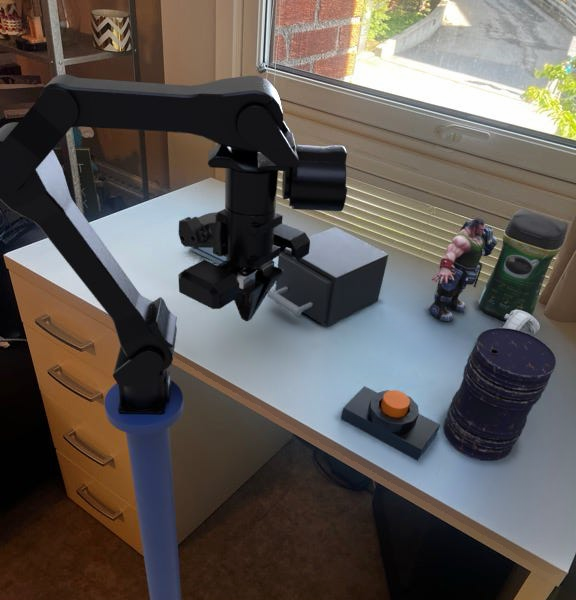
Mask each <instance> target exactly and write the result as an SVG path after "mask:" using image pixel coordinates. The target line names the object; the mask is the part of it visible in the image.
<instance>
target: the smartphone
mask: <svg viewBox="0 0 576 600" xmlns="http://www.w3.org/2000/svg"><path fill="white" fill-rule="evenodd" d="M190 249H191V251H192V252H193V253H195V254H198V255H200V256H202V257H204V258H206V259H208V260H210V261H211V262H214V263H216V264H217V265H219V264H221V263H222V262H224V261H226V257H225V256H221V257H220V256H218V255H215V254H213V248H198V249H193V248H192V247H190Z"/></svg>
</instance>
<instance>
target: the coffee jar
mask: <svg viewBox="0 0 576 600" xmlns="http://www.w3.org/2000/svg"><path fill="white" fill-rule="evenodd" d="M568 226H569V224H568V222H567V221H563V220H559V219H555V218H552V217H549V216H547V215H543V214H539V213H536V212H534V211H530V210H527V209H525V208H520V209H518V210H517V211H516V212H515V213H514V214H513V215H512V216H511V218H510V220H509V221H508V224H507V225H506V227H505V229H504V230H503V234H502V247H501V249H500V253H499V255H498V258H497V259H496V263H495V265H494V267H493V269H492V272H491V274H490V276H489V277H488V279H487V282H486V284H485V285H484V287H483V290H482V292H481V295H480V297H479V300H478V306H479V308H480V309H481V310H482V311H483V312H484V313H486V314H489V315H491V316H493V317H496V318H497V319H501V320H504V321H505V322H507V319H505V318H504V317H505V315H506V314H510V313H511V311H513V310H522V311H524V312H527V313H529V314H530V315H532V316H533V314H534V312H535V309H536V306H537V303H538V300H539V298H540V297H539V296H540V294H541V293H540V292H541V290H542V287H543V284H544V280H545V277H546V275H547V273H548V270H549V267H550V265H551V262H552V261H553V259H554V257H556V256H557V255H558V254H559V253H560V251H561V250H562V248H563V246H564V243H565V239H566V235H567V231H568Z"/></svg>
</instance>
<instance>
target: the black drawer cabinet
mask: <svg viewBox="0 0 576 600" xmlns="http://www.w3.org/2000/svg"><path fill="white" fill-rule="evenodd" d="M308 238H309V239H310V248H309V254H308V255H306V256H304V257H303V258H301V259H300V260H299V261H300V262H302V263H304V264H306V265H307V266H309V267H311V268H312V269H314V270H316V271H317V272H319V273H321V274H323V275H324V276H326V277H328V278H329V279H331V280H332V287H331V293H330V299H329V305H328V311H327V317H326V321H325V322H323V323H321V324H322V325H324V326H326V327H327V328H329V327H331V326H333V325H335V324H337V323H339V322H340V321H343V320H344V319H346V318H348V317H350V316H352V315H355V314H357V313H358V312H360V311H362V310H364V309H366V308H368V307H370V306H372V305H374V304H375V303H377V302H379V297H380V294H381V289H382V285H383V280H384V277H385V272H386V268H387V264H388V259H389V254H388V253H386V252H385V251H382V250H381V249H379V248H378V247H376V246H373V245H371V244H370V243H367V242H366V241H364V240H363V239H359V238H358V237H356V236H354V235H352V234H350V233H348V232H346V231H344V230H343V229H340V228H338V227H337V226H334V227H331V228H328V229H325V230H322V231H320V232H317V233H315V234H312V235H310V236H308ZM285 249H286V250H285V252H284V253H285V254H287V255H288V256H290V257H292V256H291V250H292V249H290V248H288V247H286V248H285Z"/></svg>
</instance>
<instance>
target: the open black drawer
mask: <svg viewBox="0 0 576 600" xmlns="http://www.w3.org/2000/svg"><path fill="white" fill-rule="evenodd" d="M277 258H278V259H277V267H278V268H280V269H282V270H283V273H282V275H281V276H280V277H279V278H278V279H277V280H276V282H275V290H273V289H270V291H269V292H268V294H267V298H269V299H270V300H272V301H274V302H275V303H276V304H277V305H279V306H280V307H282V308H284V309H285V310H287V311H288V312H290V313H292V314H293V315H295V316H296V317H299V316H300V315H301V314H302V313H304V314H305V315H307V316H308V317H310V318H312V319H313V320H315V321H316V322H318V323H319V324H322V323H323V322H325V321H326V317H327V311H328V305H329V299H330V293H331V287H332V280H331V279H329V278H328V277H326V276H324V275H323V274H321V273H319V272H317V271H316V270H314V269H312V268H311V267H309V266H307V265H306V264H304V263H302V262H300V261H299V260H298V261H297V260H295V259H293V257H290V256H288V255H287V254H285V253H282V254H281V255H279V256H278V257H277Z"/></svg>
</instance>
